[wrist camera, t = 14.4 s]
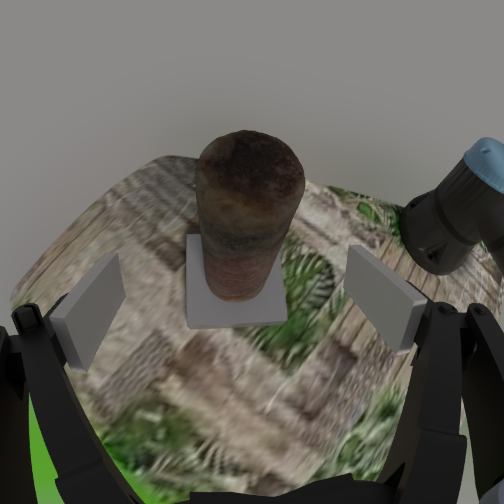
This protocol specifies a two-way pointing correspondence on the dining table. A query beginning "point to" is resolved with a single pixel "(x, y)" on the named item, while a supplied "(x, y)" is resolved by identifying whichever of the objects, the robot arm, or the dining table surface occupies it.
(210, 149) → the candle
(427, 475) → the robot arm
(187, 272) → the stand
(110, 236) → the dining table surface
